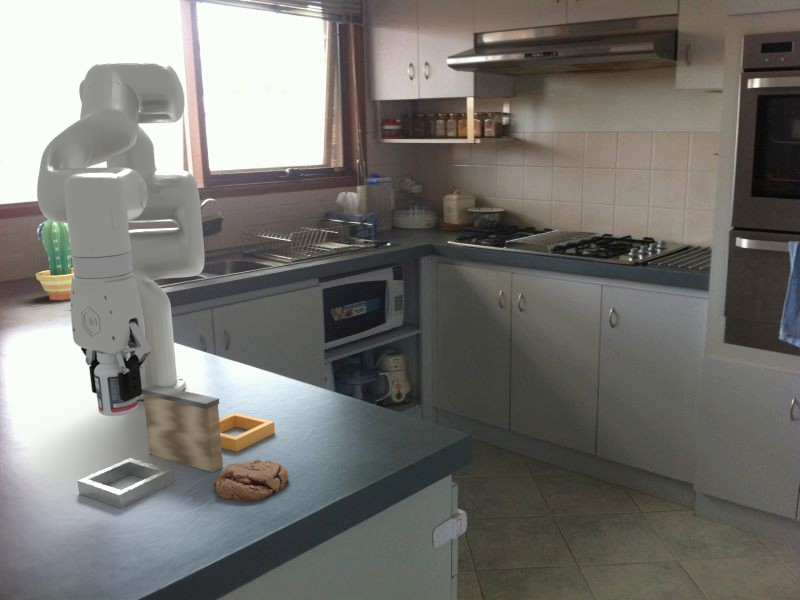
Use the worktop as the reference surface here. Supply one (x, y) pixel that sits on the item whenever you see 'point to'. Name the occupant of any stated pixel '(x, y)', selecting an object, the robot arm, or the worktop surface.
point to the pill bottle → (111, 387)
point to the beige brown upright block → (183, 427)
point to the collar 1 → (153, 482)
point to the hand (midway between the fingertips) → (117, 392)
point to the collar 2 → (256, 432)
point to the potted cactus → (56, 260)
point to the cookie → (251, 480)
